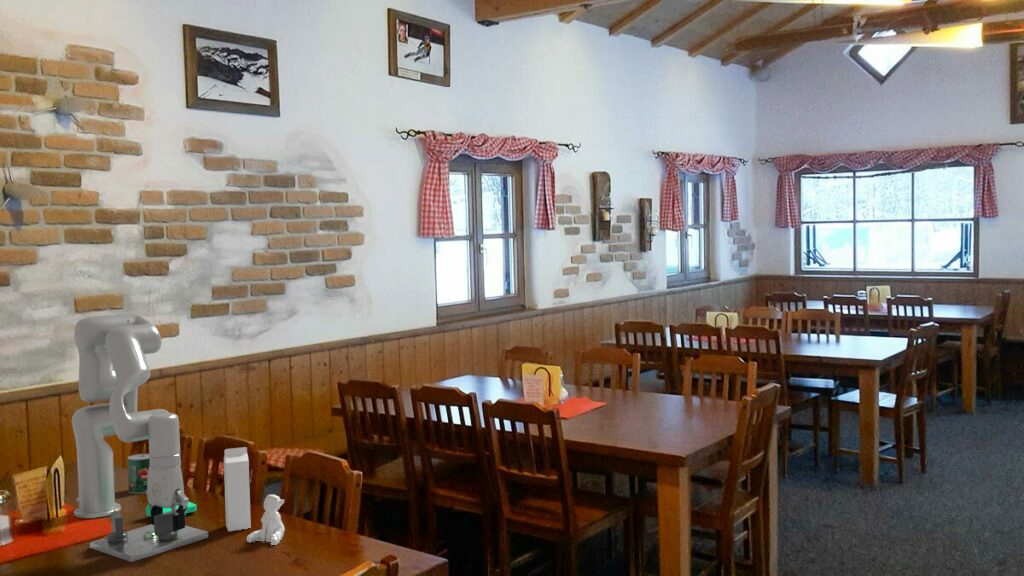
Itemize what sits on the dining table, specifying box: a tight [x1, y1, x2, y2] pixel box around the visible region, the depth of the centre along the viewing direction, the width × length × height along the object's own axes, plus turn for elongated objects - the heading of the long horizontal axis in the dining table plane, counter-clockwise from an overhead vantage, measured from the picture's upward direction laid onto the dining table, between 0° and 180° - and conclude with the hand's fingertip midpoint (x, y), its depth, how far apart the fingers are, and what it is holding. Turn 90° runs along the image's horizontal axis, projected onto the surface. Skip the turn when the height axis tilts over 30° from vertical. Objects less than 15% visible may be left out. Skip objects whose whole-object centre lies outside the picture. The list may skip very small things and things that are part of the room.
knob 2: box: [154, 508, 181, 541], centre depth 233 cm, size 5×6×7 cm
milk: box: [223, 446, 252, 532], centre depth 246 cm, size 6×6×22 cm
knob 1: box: [107, 510, 128, 543], centre depth 232 cm, size 5×6×7 cm
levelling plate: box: [89, 523, 209, 563], centre depth 234 cm, size 19×22×2 cm
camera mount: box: [145, 501, 197, 518], centre depth 258 cm, size 12×8×10 cm, turn 134°
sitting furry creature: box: [246, 494, 286, 546], centre depth 235 cm, size 10×9×12 cm
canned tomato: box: [127, 453, 150, 495], centre depth 286 cm, size 8×8×11 cm
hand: (168, 526), depth 233 cm, fingers open, 9 cm apart
